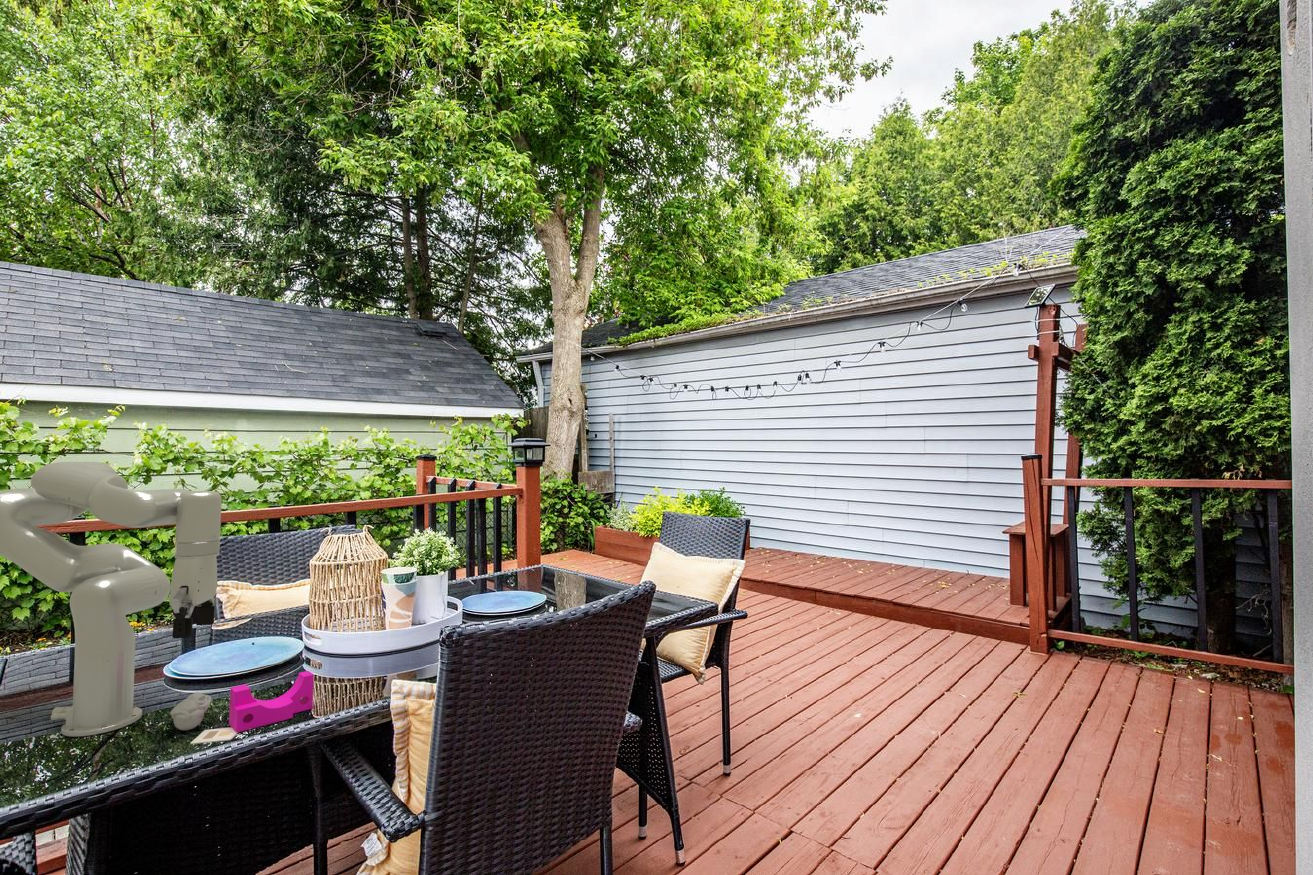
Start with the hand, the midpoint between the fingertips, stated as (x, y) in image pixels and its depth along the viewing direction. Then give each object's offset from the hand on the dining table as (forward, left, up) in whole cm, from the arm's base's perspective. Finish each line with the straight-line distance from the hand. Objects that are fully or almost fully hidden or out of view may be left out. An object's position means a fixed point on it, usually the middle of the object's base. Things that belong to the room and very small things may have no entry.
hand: (194, 630), depth 126 cm
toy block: (+15, +1, -20) cm, 25 cm away
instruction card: (+7, -5, -20) cm, 22 cm away
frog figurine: (0, 0, -20) cm, 20 cm away
